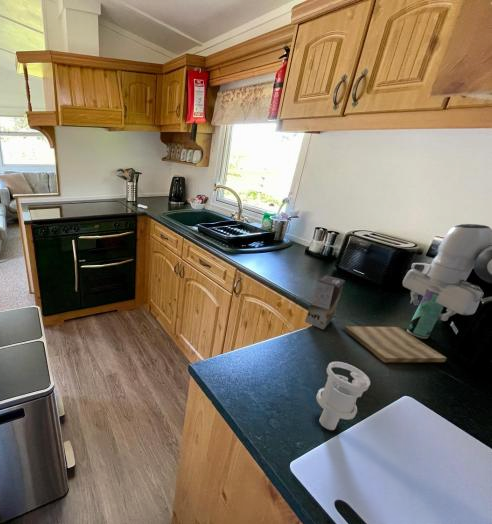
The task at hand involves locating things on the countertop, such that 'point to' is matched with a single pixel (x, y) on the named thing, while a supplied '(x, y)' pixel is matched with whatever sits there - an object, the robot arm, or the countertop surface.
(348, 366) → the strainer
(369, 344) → the chopping board
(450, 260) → the robot arm
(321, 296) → the coffee box
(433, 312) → the spray can
